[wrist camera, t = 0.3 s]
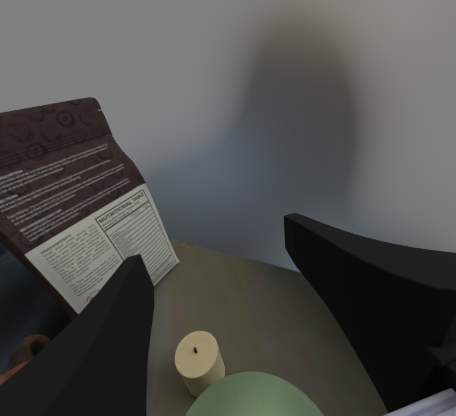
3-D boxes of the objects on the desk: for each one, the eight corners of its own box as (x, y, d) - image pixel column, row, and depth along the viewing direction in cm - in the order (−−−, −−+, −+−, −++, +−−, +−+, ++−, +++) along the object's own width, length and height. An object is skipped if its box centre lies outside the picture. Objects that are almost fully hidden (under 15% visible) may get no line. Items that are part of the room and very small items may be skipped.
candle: (229, 390, 23) (220, 365, 20) (187, 405, 22) (172, 381, 20) (221, 347, 27) (212, 321, 24) (185, 359, 26) (172, 334, 23)
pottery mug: (108, 420, 23) (16, 452, 16) (38, 486, 22) (-86, 548, 16) (89, 317, 30) (20, 311, 23) (35, 366, 30) (-50, 374, 23)
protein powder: (148, 251, 45) (80, 99, 30) (182, 262, 40) (121, 91, 26) (67, 324, 33) (-106, 130, 19) (103, 350, 29) (-87, 125, 14)
